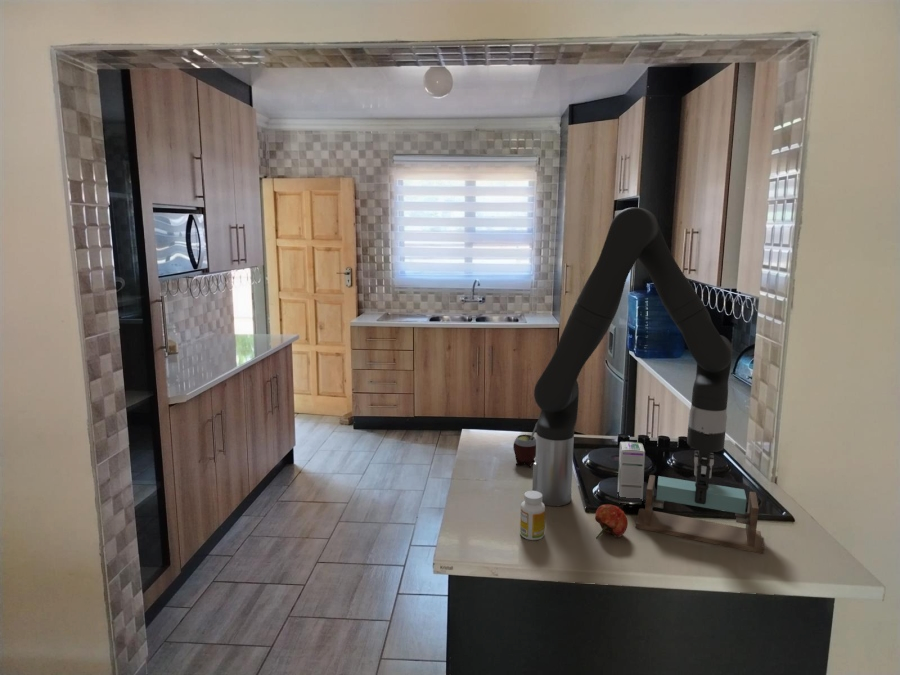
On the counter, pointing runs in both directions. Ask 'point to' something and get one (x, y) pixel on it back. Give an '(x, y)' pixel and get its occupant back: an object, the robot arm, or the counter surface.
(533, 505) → the supplement bottle
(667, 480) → the teal rectangular block
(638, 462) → the syrup box
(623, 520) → the red mushroom
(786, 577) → the counter surface
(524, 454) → the mate gourd
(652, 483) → the rack
